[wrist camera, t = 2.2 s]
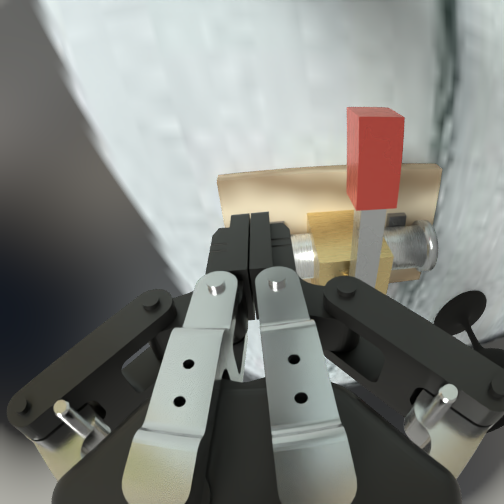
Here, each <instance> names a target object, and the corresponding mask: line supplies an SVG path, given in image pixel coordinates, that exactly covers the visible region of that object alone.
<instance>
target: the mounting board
mask: <svg viewBox="0 0 504 504" xmlns="http://www.w3.org/2000/svg"><path fill="white" fill-rule="evenodd" d="M441 175H442V169H441V168H440V167H439V166H438V165H437V164H401V175H400V184H399V193H398V202H397V208H395V209H387V210H386V219H385V226H384V227H386V221H387V213H403V212H404V213H405V214H406V216H407V217H406V223H405V226H411V225H412V223H413V222H414V221H416V220H427V221H429V222H430V223H431V224H432V225H433V220H434V215H435V210H436V204H437V199H438V193H439V187H440V181H441ZM346 184H347V165H336V166H317V167H302V168H288V169H275V170H264V171H253V172H243V173H233V174H224V175H218V178H217V186H218V191H219V197H220V203H221V208H222V214H223V219H224V225H225V228H228V227H230V220H231V215H236V214H247V213H249V214H250V219H251V213H257V212H268V211H269V219H270V222H276V221H284V224H285V225H286V226H287V227H288V228H289V229H290V235H293V234H306V233H307V213H313V212H327V211H341V210H354V206H353V204H352V202H351V200H350V198H349V196H348V195H347V193H346ZM420 274H421V272H419V271H417V270H416V269H415V268H408V269H399V270H391V274H390V279H389V283H393V282H402V281H410V280H418V279H419V278H420ZM303 280H304V281H306V282H308V283H311V279H310V278H308V279H303Z"/></svg>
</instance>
